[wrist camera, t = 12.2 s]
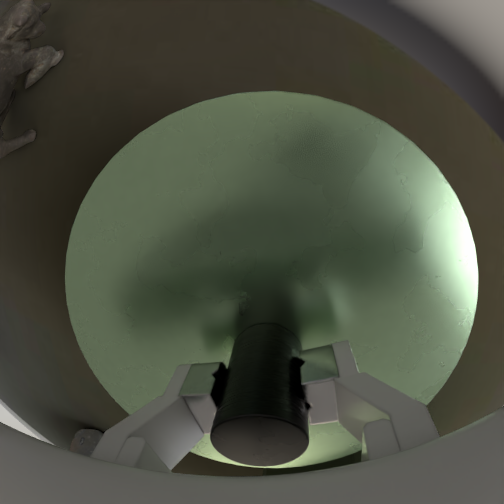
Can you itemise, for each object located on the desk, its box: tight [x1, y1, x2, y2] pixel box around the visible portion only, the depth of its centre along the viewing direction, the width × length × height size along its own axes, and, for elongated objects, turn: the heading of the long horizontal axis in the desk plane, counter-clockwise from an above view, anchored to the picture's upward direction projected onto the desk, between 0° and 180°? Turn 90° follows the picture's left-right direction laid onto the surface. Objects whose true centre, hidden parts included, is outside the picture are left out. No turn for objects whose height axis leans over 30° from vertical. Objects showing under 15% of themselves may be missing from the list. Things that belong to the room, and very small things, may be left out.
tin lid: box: [65, 91, 478, 468], centre depth 8 cm, size 17×17×5 cm
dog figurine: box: [0, 0, 64, 159], centre depth 10 cm, size 12×6×7 cm, turn 151°
